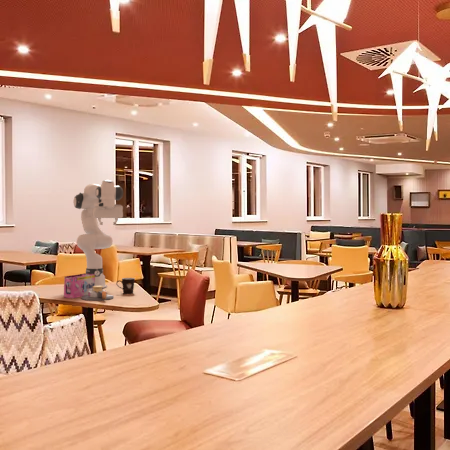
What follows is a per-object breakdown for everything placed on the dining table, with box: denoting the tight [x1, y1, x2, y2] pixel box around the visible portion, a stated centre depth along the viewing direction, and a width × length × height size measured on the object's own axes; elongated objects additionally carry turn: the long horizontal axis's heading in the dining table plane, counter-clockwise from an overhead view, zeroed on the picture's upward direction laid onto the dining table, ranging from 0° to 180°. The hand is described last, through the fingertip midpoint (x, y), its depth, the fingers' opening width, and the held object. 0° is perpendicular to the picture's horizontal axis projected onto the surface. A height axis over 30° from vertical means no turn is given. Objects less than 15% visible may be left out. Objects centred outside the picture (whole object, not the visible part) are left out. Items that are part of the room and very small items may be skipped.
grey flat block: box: [88, 288, 108, 299], centre depth 357 cm, size 20×11×5 cm, turn 30°
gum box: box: [63, 272, 95, 299], centre depth 370 cm, size 24×8×14 cm, turn 156°
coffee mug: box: [116, 277, 135, 295], centre depth 384 cm, size 12×9×10 cm
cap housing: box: [80, 286, 114, 302], centre depth 361 cm, size 20×20×8 cm
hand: (108, 224), depth 379 cm, fingers open, 8 cm apart
